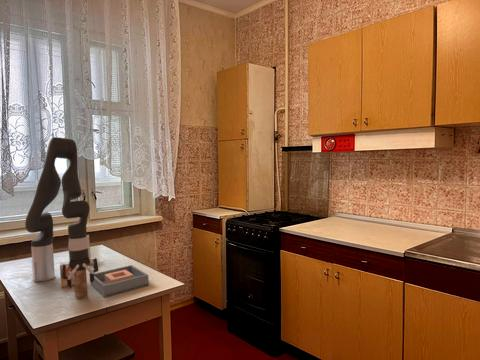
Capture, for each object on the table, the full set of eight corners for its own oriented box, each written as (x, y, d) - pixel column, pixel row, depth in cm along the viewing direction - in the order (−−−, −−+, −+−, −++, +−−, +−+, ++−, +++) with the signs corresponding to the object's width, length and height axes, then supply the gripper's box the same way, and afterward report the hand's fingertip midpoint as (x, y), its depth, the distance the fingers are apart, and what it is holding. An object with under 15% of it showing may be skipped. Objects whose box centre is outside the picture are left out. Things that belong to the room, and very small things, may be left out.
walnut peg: (77, 299, 145) (75, 271, 144) (75, 296, 148) (73, 269, 147) (87, 296, 147) (86, 269, 146) (85, 294, 150) (83, 267, 149)
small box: (60, 287, 159) (59, 265, 158) (60, 284, 164) (59, 262, 163) (80, 284, 162) (78, 262, 162) (79, 280, 167) (78, 259, 167)
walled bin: (104, 297, 146) (103, 286, 145) (90, 284, 161) (90, 274, 161) (148, 285, 158) (148, 274, 158) (132, 274, 174) (131, 264, 173)
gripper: (93, 243, 153) (95, 278, 154) (58, 249, 144) (60, 286, 146) (98, 246, 147) (100, 282, 149) (62, 252, 139) (64, 291, 140)
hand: (81, 284), depth 147 cm, fingers open, 8 cm apart
